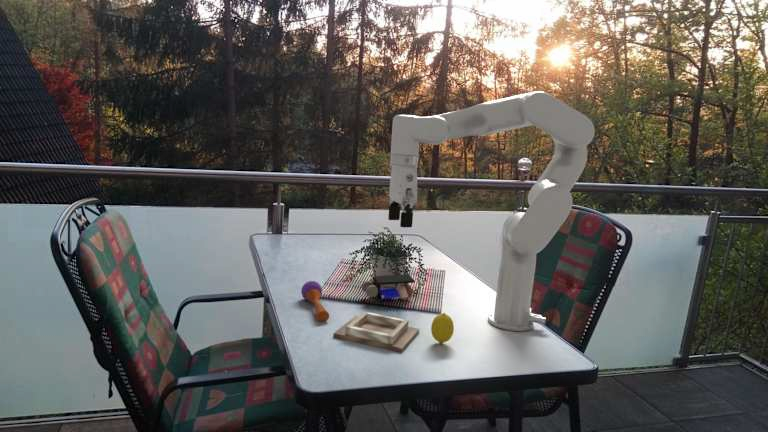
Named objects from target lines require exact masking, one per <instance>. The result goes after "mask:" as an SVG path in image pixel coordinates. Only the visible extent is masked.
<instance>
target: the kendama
mask: <svg viewBox="0 0 768 432" xmlns="http://www.w3.org/2000/svg"><path fill="white" fill-rule="evenodd" d="M322 294H323V289H322V286H321V284H320V283H319V282H317V281H315V280H308V281H307V282H305V283H304V284H303V285H302V286H301V295H302V298H303V299H304V300H305V301H308V302H309V303H313V304H314V308H315V316H316V320H317V321H318V322H319V323H320V322H321V323H322V322H323V323H324V322H327V321H328V320H329V319H330V314H329V312H328V311H327V309H326V308H325V307H324V305H322V303H321V302H320V299H321V297H322Z"/></svg>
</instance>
